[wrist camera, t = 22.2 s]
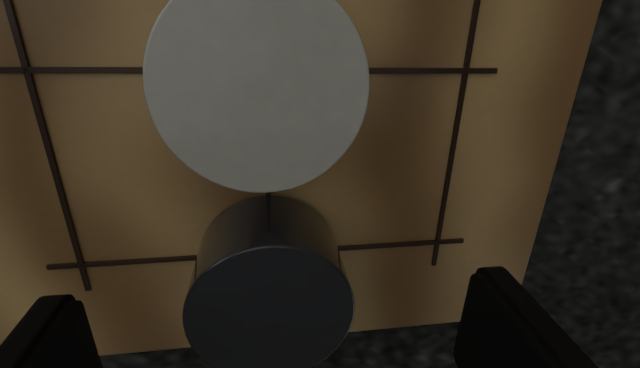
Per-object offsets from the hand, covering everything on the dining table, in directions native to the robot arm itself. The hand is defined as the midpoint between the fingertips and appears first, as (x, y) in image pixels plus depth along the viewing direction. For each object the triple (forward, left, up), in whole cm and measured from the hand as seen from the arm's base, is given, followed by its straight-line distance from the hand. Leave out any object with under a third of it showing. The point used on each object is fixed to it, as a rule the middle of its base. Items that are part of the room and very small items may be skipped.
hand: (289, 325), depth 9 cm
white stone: (0, -6, -4) cm, 7 cm away
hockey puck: (0, 0, -4) cm, 4 cm away
